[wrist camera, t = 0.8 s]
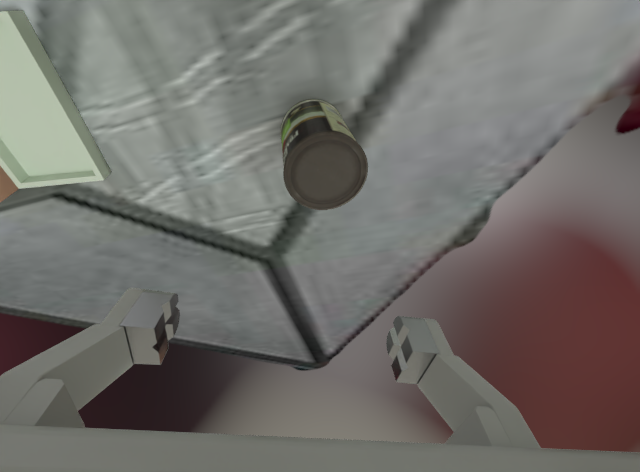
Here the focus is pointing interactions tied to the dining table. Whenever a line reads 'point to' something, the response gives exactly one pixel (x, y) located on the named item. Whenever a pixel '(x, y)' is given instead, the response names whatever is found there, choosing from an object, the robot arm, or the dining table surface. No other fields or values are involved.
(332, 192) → the coffee can
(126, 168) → the dining table surface
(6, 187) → the terracotta block
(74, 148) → the tray
